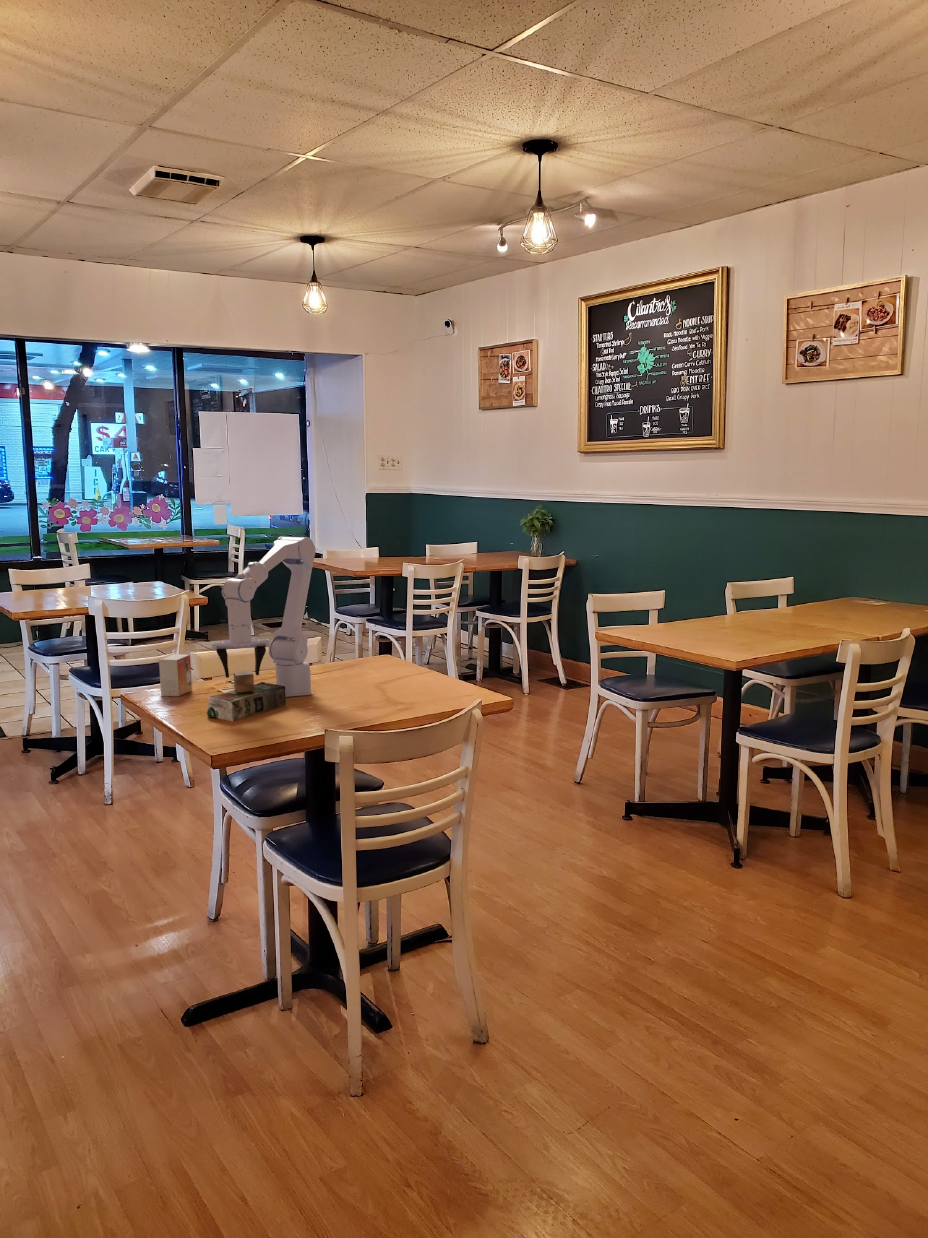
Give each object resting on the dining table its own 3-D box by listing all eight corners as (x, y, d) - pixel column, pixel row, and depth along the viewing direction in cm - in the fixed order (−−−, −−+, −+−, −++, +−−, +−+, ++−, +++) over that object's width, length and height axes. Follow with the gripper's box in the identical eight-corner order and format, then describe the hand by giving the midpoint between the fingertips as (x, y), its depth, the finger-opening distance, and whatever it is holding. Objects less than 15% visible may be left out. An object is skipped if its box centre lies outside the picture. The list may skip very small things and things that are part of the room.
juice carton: (230, 723, 234) (229, 700, 233) (203, 718, 239) (202, 695, 238) (287, 707, 250) (286, 685, 249) (261, 702, 256) (260, 680, 255)
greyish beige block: (251, 687, 247) (250, 670, 247) (254, 691, 243) (253, 674, 242) (234, 688, 246) (233, 672, 245) (236, 692, 242) (235, 675, 241)
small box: (178, 697, 260) (176, 660, 258) (160, 696, 261) (158, 659, 259) (192, 690, 267) (190, 654, 266) (174, 689, 268) (172, 653, 267)
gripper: (212, 628, 236) (214, 681, 238) (270, 625, 241) (272, 676, 243) (210, 624, 242) (212, 675, 245) (266, 620, 247) (268, 671, 249)
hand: (242, 675), depth 244 cm, fingers open, 7 cm apart
